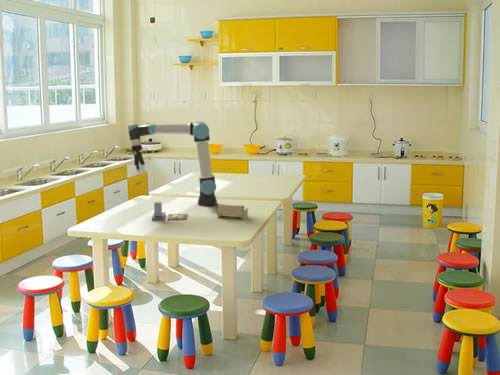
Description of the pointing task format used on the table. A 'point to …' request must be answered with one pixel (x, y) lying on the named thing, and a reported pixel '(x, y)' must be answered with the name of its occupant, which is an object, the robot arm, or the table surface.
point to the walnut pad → (177, 217)
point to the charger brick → (158, 209)
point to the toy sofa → (232, 211)
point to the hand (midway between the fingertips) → (141, 173)
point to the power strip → (158, 217)
